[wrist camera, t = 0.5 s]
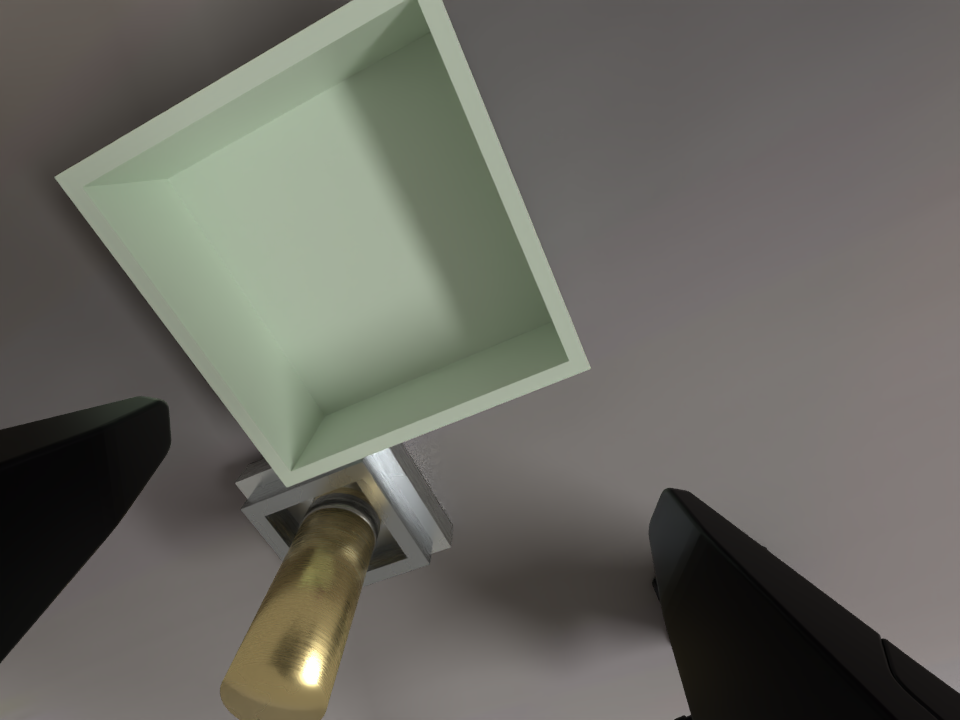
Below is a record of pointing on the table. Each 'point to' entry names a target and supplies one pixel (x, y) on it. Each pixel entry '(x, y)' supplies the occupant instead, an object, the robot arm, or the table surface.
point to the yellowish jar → (305, 614)
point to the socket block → (389, 488)
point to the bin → (337, 240)
